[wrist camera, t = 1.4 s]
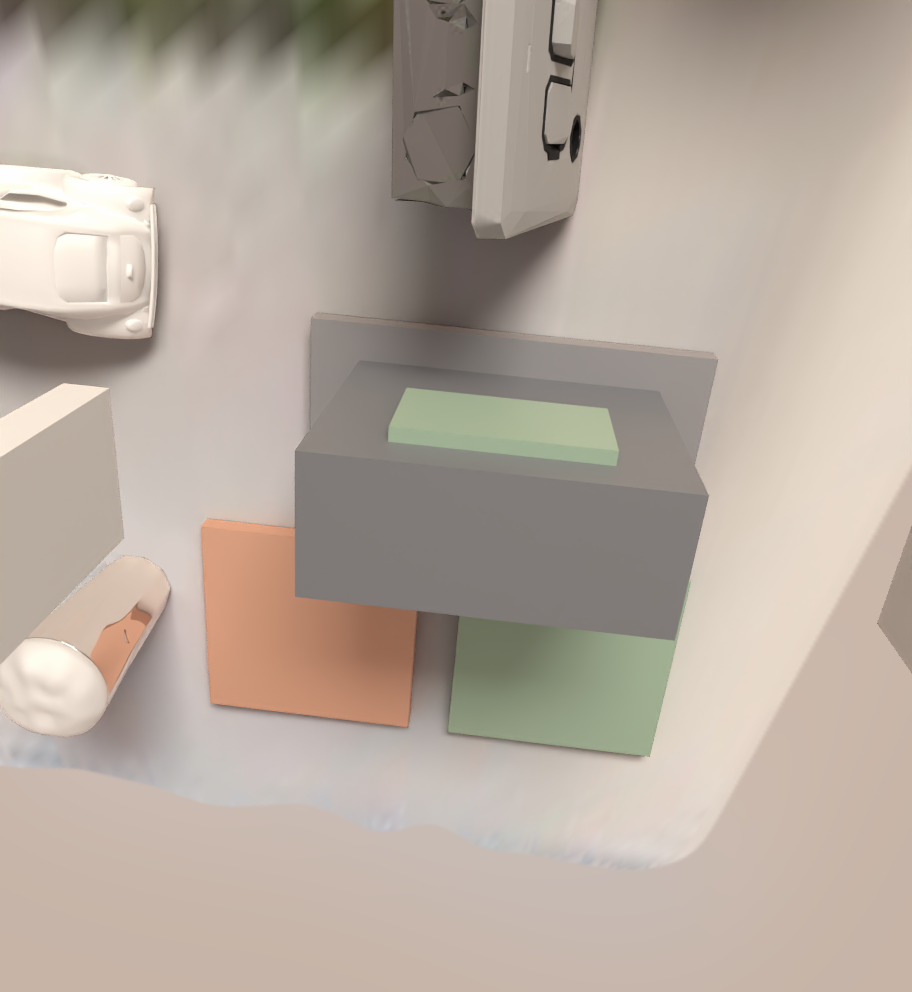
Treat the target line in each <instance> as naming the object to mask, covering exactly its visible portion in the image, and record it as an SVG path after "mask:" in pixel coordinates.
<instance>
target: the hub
mask: <svg viewBox="0 0 912 992" xmlns="http://www.w3.org/2000/svg"><path fill="white" fill-rule="evenodd" d="M717 362H718V359H717V357H716V356H715V355H714V354H713V353H709V352H699V351H689V350H679V349H669V348H660V347H650V346H640V345H630V344H620V343H610V342H600V341H591V340H581V339H571V338H561V337H551V336H541V335H531V334H522V333H512V332H502V331H492V330H482V329H472V328H462V327H453V326H443V325H433V324H423V323H413V322H403V321H393V320H384V319H374V318H364V317H354V316H344V315H334V314H324V313H316V314H315V315H314V316H313V317H312V318H311V369H310V430H309V432H308V433H307V435H306V436H305V437H304V439H303V440H302V442H301V443H300V444H299V446H298V447H297V449H296V450H295V597H301V598H310V599H318V600H327V601H335V602H344V603H353V604H361V605H370V606H379V607H387V608H396V609H405V610H413V611H422V612H431V613H439V614H448V615H456V616H465V617H474V618H482V619H491V620H500V621H508V622H517V623H526V624H534V625H543V626H551V627H560V628H569V629H577V630H586V631H595V632H603V633H612V634H621V635H629V636H638V637H647V638H655V639H664V640H672V641H675V638H676V634H677V630H678V625H679V621H680V617H681V612H682V608H683V604H684V600H685V595H686V591H687V587H688V583H689V578H690V574H691V570H692V565H693V561H694V557H695V553H696V548H697V544H698V540H699V536H700V531H701V527H702V523H703V518H704V514H705V510H706V506H707V501H708V497H709V495H708V493H707V491H706V489H705V486H704V484H703V482H702V480H701V478H700V476H699V474H698V472H697V470H696V468H695V461H696V457H697V452H698V448H699V443H700V439H701V434H702V430H703V425H704V421H705V416H706V412H707V407H708V403H709V398H710V394H711V389H712V385H713V380H714V376H715V371H716V367H717Z"/></svg>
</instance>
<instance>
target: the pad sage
mask: <svg viewBox="0 0 912 992" xmlns="http://www.w3.org/2000/svg"><path fill="white" fill-rule="evenodd" d="M690 583H691V581H690V578H689V583H688V587H687V591H686V595H685V600H684V604H683V608H682V612H681V617H680V621H679V625H678V630H677V634H676V638H675V641H672V640H664V639H655V638H647V637H638V636H629V635H621V634H612V633H603V632H595V631H586V630H577V629H569V628H560V627H551V626H543V625H534V624H526V623H517V622H508V621H500V620H491V619H482V618H474V617H465V616H459V624H458V634H457V644H456V654H455V664H454V674H453V684H452V694H451V704H450V714H449V724H448V732H451V733H459V734H467V735H475V736H484V737H492V738H500V739H508V740H517V741H525V742H533V743H541V744H549V745H558V746H566V747H574V748H582V749H591V750H599V751H607V752H615V753H624V754H632V755H640V756H648V757H650V753H651V749H652V745H653V741H654V736H655V732H656V728H657V724H658V719H659V715H660V711H661V707H662V702H663V698H664V694H665V690H666V685H667V681H668V677H669V673H670V668H671V664H672V660H673V656H674V651H675V647H676V643H677V639H678V634H679V630H680V626H681V622H682V617H683V613H684V609H685V605H686V600H687V596H688V592H689V588H690Z"/></svg>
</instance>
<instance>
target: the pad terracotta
mask: <svg viewBox="0 0 912 992" xmlns="http://www.w3.org/2000/svg"><path fill="white" fill-rule="evenodd" d="M201 537H202V555H203V574H204V592H205V610H206V629H207V647H208V666H209V684H210V702H211V703H212V704H220V705H229V706H237V707H245V708H253V709H261V710H270V711H278V712H286V713H294V714H303V715H311V716H319V717H327V718H336V719H344V720H352V721H360V722H368V723H377V724H385V725H393V726H401V727H408V724H409V719H410V709H411V696H412V682H413V669H414V655H415V642H416V628H417V615H418V611H413V610H405V609H396V608H387V607H379V606H370V605H361V604H353V603H344V602H335V601H327V600H318V599H310V598H301V597H295V529H294V528H285V527H277V526H268V525H259V524H250V523H241V522H232V521H223V520H214V519H207V520H206V521H205V522H204V523H203V525H202V526H201Z"/></svg>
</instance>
